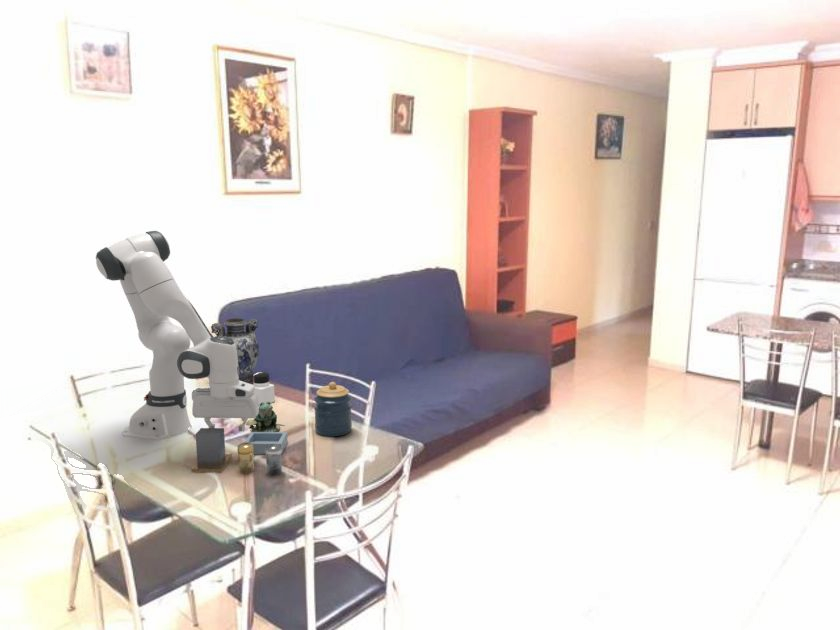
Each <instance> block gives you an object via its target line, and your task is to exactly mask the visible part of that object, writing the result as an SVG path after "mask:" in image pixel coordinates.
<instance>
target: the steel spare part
mask: <svg viewBox="0 0 840 630" xmlns="http://www.w3.org/2000/svg"><path fill="white" fill-rule="evenodd" d="M265 451H266V454H265V460H266V464H265V465H266V475H269V476H276V475H279V474H281V473H283V472H282V471H283V470H282V469H283V468H282V467H283V466H282V454H281V445H279V444H269V445H267V446H266V450H265Z"/></svg>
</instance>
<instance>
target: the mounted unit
mask: <svg viewBox="0 0 840 630" xmlns="http://www.w3.org/2000/svg"><path fill="white" fill-rule="evenodd" d="M195 445H196V446H195V447H196V462H195V464H194V465H193V466H192V468H191V469H190V471H191V473H223V471H224V470H225V468H226V467H227V465H228V464H229V463H230V461H231V460H232V458H233V453H232V454H231V453H230V454H229V453H226V442H225V428H224V427H217V428H216V427H215V428H209V427H200V429H198V431H197V432H196V433H195Z"/></svg>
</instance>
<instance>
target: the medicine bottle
mask: <svg viewBox="0 0 840 630" xmlns="http://www.w3.org/2000/svg"><path fill="white" fill-rule="evenodd" d="M252 378H253V385H254V387H255V389H254V392H253V393H255V394H256V396H257V399H258V405H259V407H260V404H261V402H263V403H264V404H266V402H270V404H272V403H274V402H275V401H276V399H275V398H276V397H275V384H272V383H270V374H269V373H267V372H264V371H263V372H261V371H259V372H256V373H254V374H253V377H252Z"/></svg>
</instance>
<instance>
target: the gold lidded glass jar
mask: <svg viewBox="0 0 840 630" xmlns="http://www.w3.org/2000/svg"><path fill="white" fill-rule="evenodd" d="M244 442H245V441H244ZM244 442H241V443H239V444H237V456H238V472H239V473H241V474H251V473H253V472H255V459H254V458H255V454H254V453H253V452H254V447H253V444H252V443H249V442H245V443H244Z"/></svg>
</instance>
